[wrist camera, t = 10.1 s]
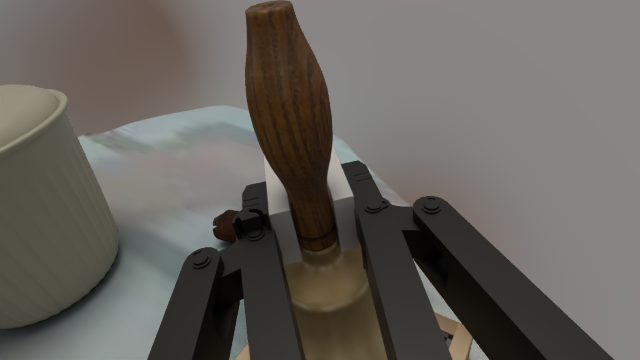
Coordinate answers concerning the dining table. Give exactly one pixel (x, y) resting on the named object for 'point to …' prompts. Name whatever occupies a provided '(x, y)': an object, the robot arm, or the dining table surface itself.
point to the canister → (47, 210)
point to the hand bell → (307, 186)
